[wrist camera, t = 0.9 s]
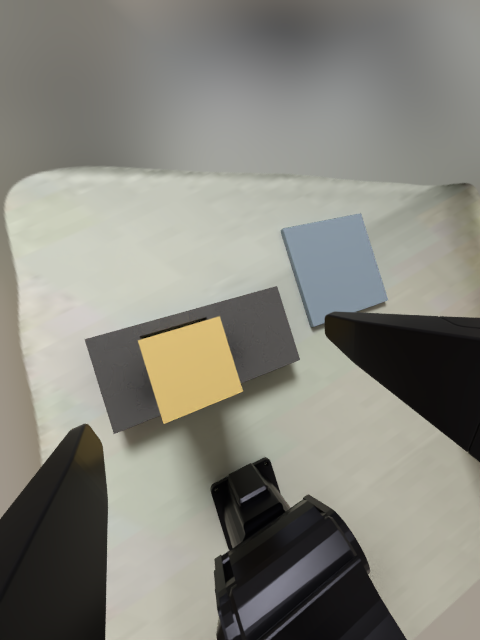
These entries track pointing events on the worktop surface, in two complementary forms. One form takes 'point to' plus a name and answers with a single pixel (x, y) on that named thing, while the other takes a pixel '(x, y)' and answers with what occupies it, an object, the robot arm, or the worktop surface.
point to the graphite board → (236, 316)
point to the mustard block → (190, 368)
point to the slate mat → (334, 266)
